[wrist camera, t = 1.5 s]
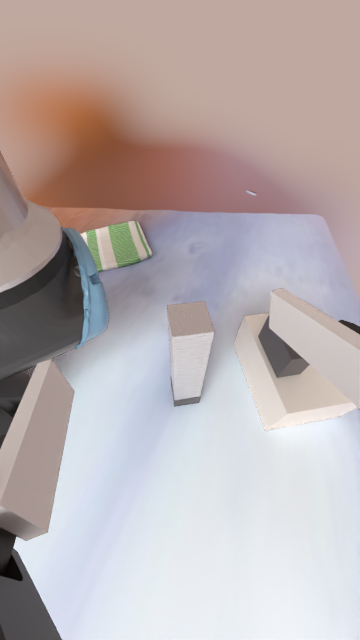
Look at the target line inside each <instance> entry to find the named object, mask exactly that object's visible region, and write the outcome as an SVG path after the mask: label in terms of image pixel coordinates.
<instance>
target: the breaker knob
mask: <svg viewBox="0 0 360 640" xmlns="http://www.w3.org/2000/svg"><path fill="white" fill-rule="evenodd" d="M269 316H270V315H269ZM269 316H268V317H267V319H266V321H265V323H264V325H263V327H262V329H261V331H260V334H259V336H258V338H259V340H260V342H261V344H262V347H263V349H264V351H265V353H266V355H267V357H268V360H269V362H270V364H271V366H272V368H273V370H274V373H275V375H276V377H277V378H279V377H285V376H292V375H298V374H301V373H302V372H303V371H304V370H305V369H306V368H307V367H308V366H309V365H310V364H309V363H308V362H307V361H306V360H304V359H303V358H302V357H301V356H300V355H299V354H298V353H297V352H296V351H294V350H293V349H292V348H291V347H290V346H289V345H288V344H287V343H286V342H284V341H283V340H282V339H281V338H280V337H279V336H278V335H277V334H276V333H275V332H273V331H272V330H271V329H270V328H269Z"/></svg>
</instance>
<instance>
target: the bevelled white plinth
mask: <svg viewBox="0 0 360 640" xmlns="http://www.w3.org/2000/svg"><path fill="white" fill-rule="evenodd" d="M269 315H270V313H264V314H256V315H249V316H244V317H243V320H242V323H241V326H240V328H239V331H238V334H237V337H236V340H235V342H234V348H235V350H236V353H237V356H238V358H239V361H240V364H241V367H242V369H243V372H244V375H245V378H246V380H247V383H248V386H249V388H250V391H251V394H252V397H253V399H254V402H255V405H256V408H257V410H258V413H259V416H260V418H261V421H262V424H263V427H264V429H265V431H267V430H272V429H278V428H283V427H288V426H294V425H299V424H305V423H310V422H315V421H321V420H326V419H332V418H337V417H340V416H342V415H344V414H346V413H348V412H350V411H352V410H354V409H356V408H358V407H357V406H356V405H354V404H353V403H352V402H351V401H350V400H349V399H348V398H347V397H346V396H344V395H343V394H342V393H341V392H340V391H339V390H338V389H337V388H336V387H334V386H333V385H332V384H331V383H330V382H329V381H328V380H327V379H326V378H324V377H323V376H322V375H321V374H320V373H319V372H318V371H317V370H316V369H314V368H313V367H312V366H311V365H309V366H308V367H307V368H306V369H305V370H304V371H303V372H302V373H301V374H298V375H292V376H285V377H279V378H277V377H276V375H275V373H274V370H273V368H272V366H271V364H270V362H269V360H268V357H267V355H266V353H265V351H264V349H263V347H262V344H261V342H260V340H259V338H258V336H259V334H260V331H261V329H262V327H263V325H264V323H265V321H266V319H267V317H268V316H269Z"/></svg>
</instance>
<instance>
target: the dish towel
mask: <svg viewBox="0 0 360 640" xmlns="http://www.w3.org/2000/svg"><path fill="white" fill-rule="evenodd" d="M80 235H81V236H82V238H83V239H84V241H85V242H86V244H87V246H88V248H89V250H90V252H91V254H92V257H93V259H94V261H95V264H96V267H97V270H98V272H101V271H105V270H110V269H114V268H119V267H123V266H127V265H131V264H134V263H137V262H140V261H142V260H144V259H147V258H149V257H151V256H152V252H151V249H150V247H149V245H148V243H147V240H146V238H145V236H144V233H143V231H142V229H141V226H140V225H139V223H138V221H129V222H124V223H120V224H115V225H110V226H107V227H103V228H100V229H95V230H90V231H87V232H84V233H82V234H80Z"/></svg>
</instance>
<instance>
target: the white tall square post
mask: <svg viewBox="0 0 360 640" xmlns="http://www.w3.org/2000/svg"><path fill="white" fill-rule="evenodd" d="M167 314H168V332H169V350H170V368H171V386H172V393H173V401H174V407H175V406H181V405H187V404H194V403H199V401H200V394H201V390H202V385H203V381H204V376H205V372H206V368H207V363H208V359H209V354H210V350H211V345H212V341H213V336H214V329H213V325H212V322H211V319H210V316H209V313H208V309H207V306H206V303H205V301H201V302H192V303H183V304H174V305H167Z"/></svg>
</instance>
